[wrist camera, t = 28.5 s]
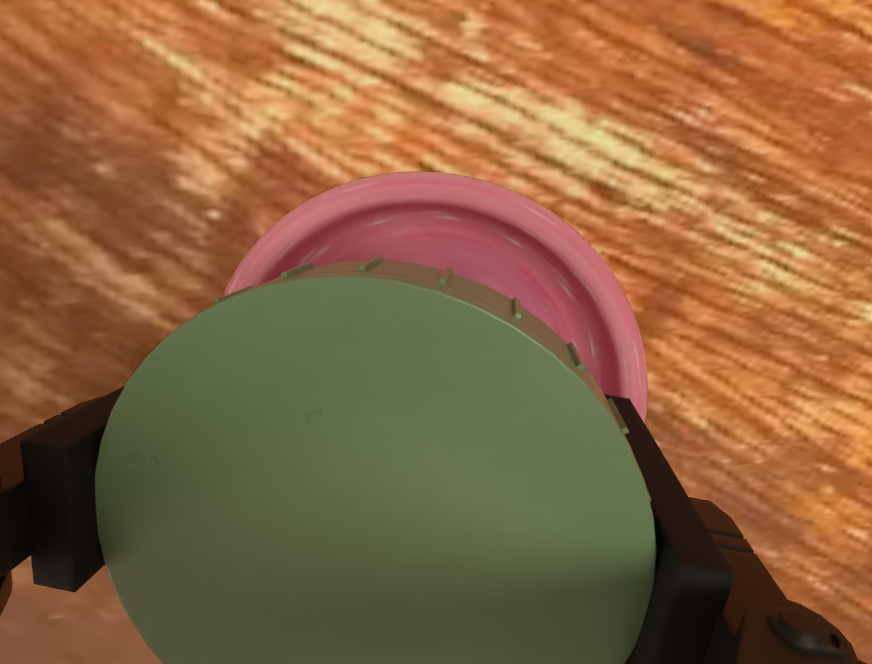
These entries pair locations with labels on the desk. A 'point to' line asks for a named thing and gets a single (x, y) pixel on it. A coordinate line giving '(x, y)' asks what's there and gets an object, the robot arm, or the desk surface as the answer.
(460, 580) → the lid
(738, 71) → the desk surface
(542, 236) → the saucer
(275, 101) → the desk surface
